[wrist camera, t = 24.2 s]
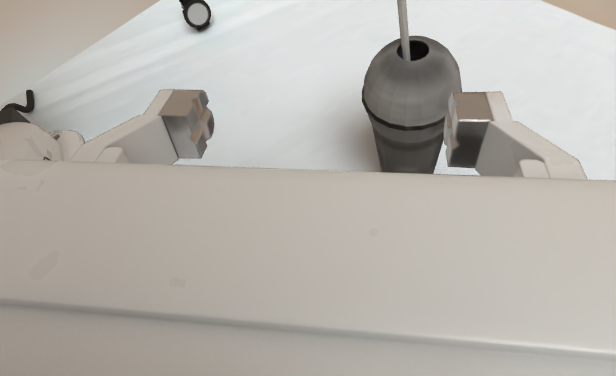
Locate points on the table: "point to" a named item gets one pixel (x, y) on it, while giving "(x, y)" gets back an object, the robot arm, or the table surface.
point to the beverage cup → (409, 100)
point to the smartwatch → (196, 13)
